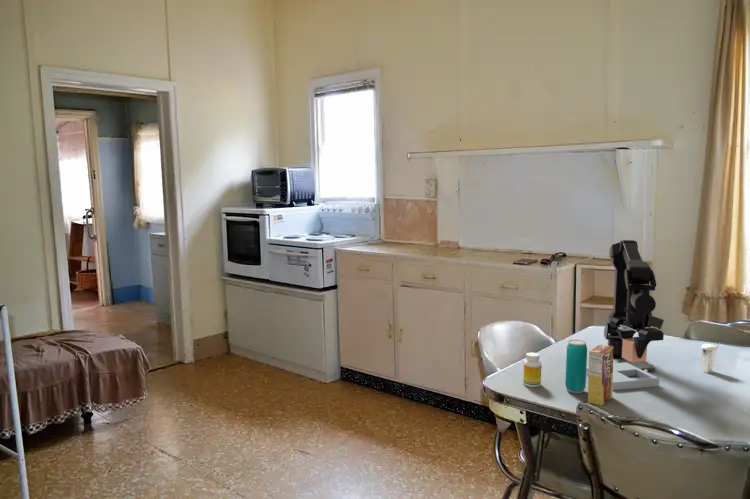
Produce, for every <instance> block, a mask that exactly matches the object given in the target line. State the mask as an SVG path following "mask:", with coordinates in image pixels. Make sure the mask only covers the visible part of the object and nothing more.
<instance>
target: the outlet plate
mask: <svg viewBox="0 0 750 499" xmlns="http://www.w3.org/2000/svg"><path fill="white" fill-rule="evenodd" d="M586 377H589V364H587V367H586ZM659 386H660V378H659V377H657V376H655V375H653V374H651V373H650V372H645V371H643V370H641V369H639V368H637V367H635V366H633V365H631V364H629V363H627V362H624V363H621V362H613V389H612V391H616V390H618V391H619V390H620V391H621V390H629V389H640V388H642V389H643V388H651V387H652V388H653V387H659Z"/></svg>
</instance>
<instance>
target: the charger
mask: <svg viewBox="0 0 750 499" xmlns="http://www.w3.org/2000/svg"><path fill="white" fill-rule="evenodd" d="M647 352H648V346H647V347H646V349H645V352H644V354H643V356H642V358H638V357H637V353H636V348H635V343H634V338H627V339H623V344H622V358H621V359H623V360H628V361H630V362H647V354H648V353H647Z"/></svg>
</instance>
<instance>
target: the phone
mask: <svg viewBox="0 0 750 499" xmlns="http://www.w3.org/2000/svg"><path fill="white" fill-rule="evenodd" d="M624 362H627V363H629V364H631V365H633V366H635V367H637V368H639V369H641V370H643V371H644V370H645V369H647V370H648V372H647V373H651V372H655V369H656V368H655V367H654V366H651V365H649V364H647V363H646V362H644V361H642V362H630V361H628V360H626V359H621V360H620V363H624Z"/></svg>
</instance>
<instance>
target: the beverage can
mask: <svg viewBox="0 0 750 499" xmlns="http://www.w3.org/2000/svg"><path fill="white" fill-rule="evenodd" d="M565 358H566V359H565V361H566V362H565V382H564V383H565V388H566V390H567V392H568V393H571V394H578V395H579V394H582V393H584V390H585V389H586V387H587V386H586V385H587V375H586V367H587V365H588V364H587V363H588V346H587V342H586V341H584V340H582V339H581V340H580V339H569V340H568V341H567V345H566V357H565Z"/></svg>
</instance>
